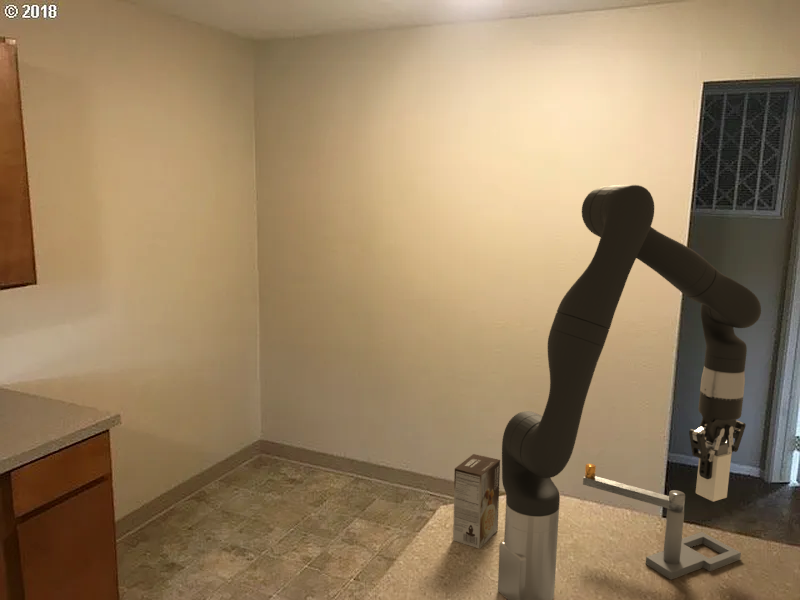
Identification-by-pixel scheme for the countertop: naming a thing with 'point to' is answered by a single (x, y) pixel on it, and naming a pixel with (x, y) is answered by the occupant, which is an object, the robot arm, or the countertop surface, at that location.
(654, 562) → the dock
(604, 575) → the countertop surface
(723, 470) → the plug
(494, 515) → the coffee box
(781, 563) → the countertop surface
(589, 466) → the long flat grey beam
